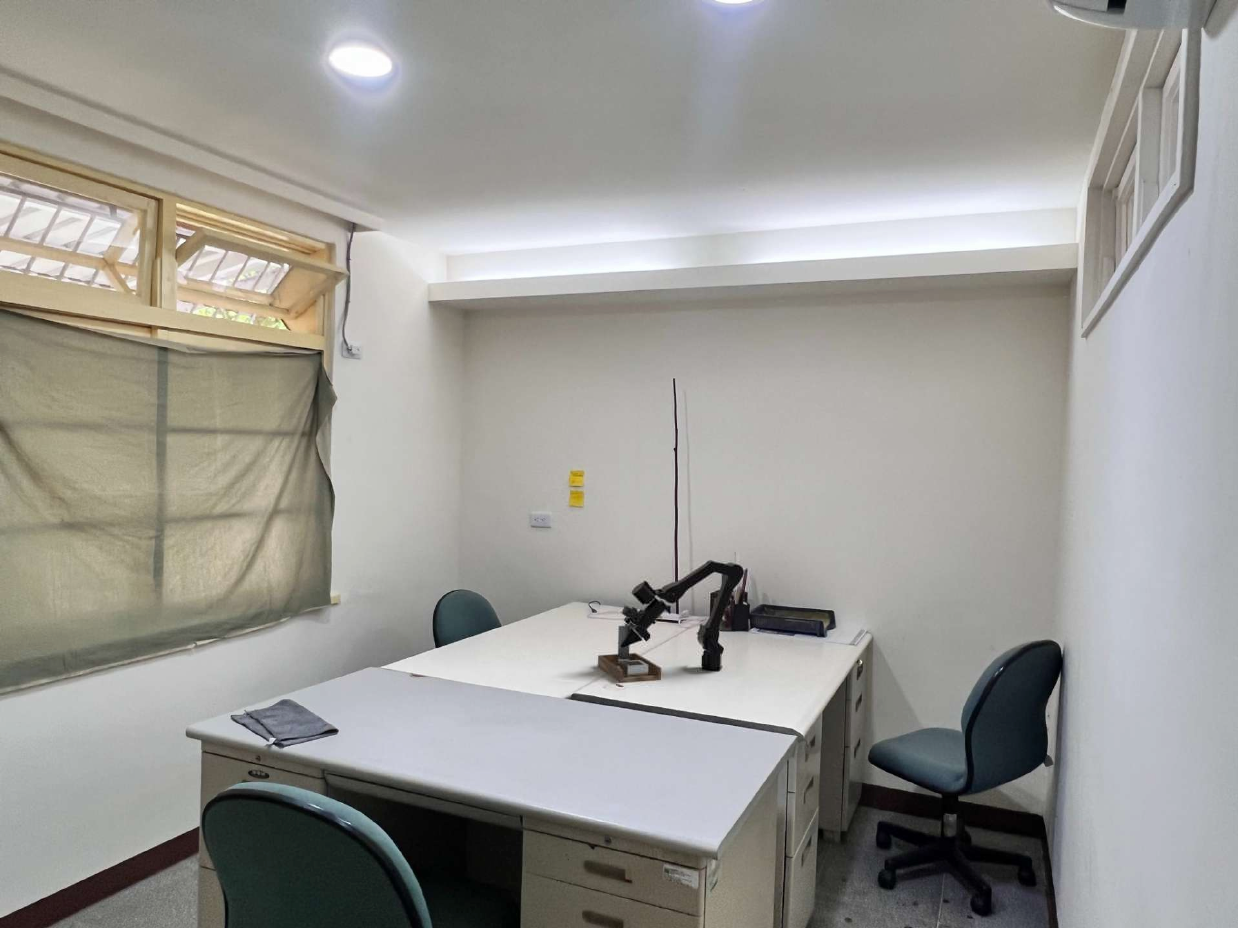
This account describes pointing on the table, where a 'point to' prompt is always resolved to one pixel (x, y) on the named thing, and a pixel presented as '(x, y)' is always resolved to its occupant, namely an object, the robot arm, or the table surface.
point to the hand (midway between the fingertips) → (619, 645)
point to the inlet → (634, 668)
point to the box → (613, 669)
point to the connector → (622, 634)
